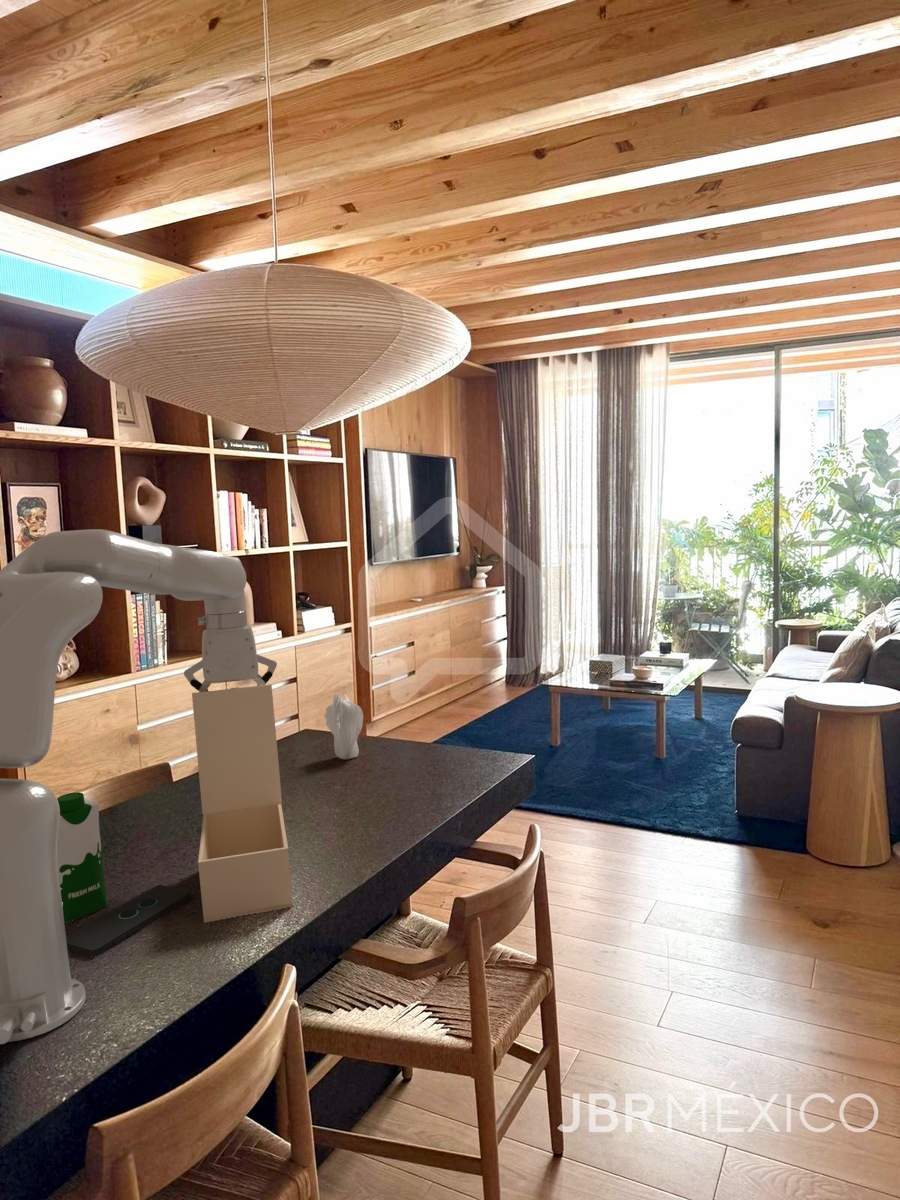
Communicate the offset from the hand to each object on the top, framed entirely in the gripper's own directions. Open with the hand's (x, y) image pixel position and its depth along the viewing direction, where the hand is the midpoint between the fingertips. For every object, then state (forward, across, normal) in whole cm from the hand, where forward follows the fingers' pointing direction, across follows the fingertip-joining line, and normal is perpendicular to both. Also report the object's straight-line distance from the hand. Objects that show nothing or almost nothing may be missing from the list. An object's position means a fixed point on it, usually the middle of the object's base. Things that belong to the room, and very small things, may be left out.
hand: (234, 709), depth 156 cm
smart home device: (+28, -19, -25) cm, 42 cm away
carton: (+27, 0, -19) cm, 33 cm away
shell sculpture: (+27, +26, +49) cm, 62 cm away
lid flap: (+6, 0, -7) cm, 9 cm away
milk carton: (+27, -28, -17) cm, 43 cm away
